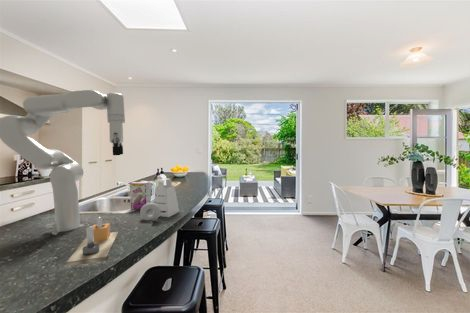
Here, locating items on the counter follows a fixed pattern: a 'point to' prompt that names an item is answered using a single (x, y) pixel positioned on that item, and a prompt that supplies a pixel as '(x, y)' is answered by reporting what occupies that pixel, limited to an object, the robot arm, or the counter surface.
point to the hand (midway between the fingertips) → (118, 154)
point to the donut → (146, 207)
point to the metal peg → (90, 243)
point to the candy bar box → (139, 194)
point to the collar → (101, 232)
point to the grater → (166, 198)
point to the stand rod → (99, 222)
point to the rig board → (103, 251)
